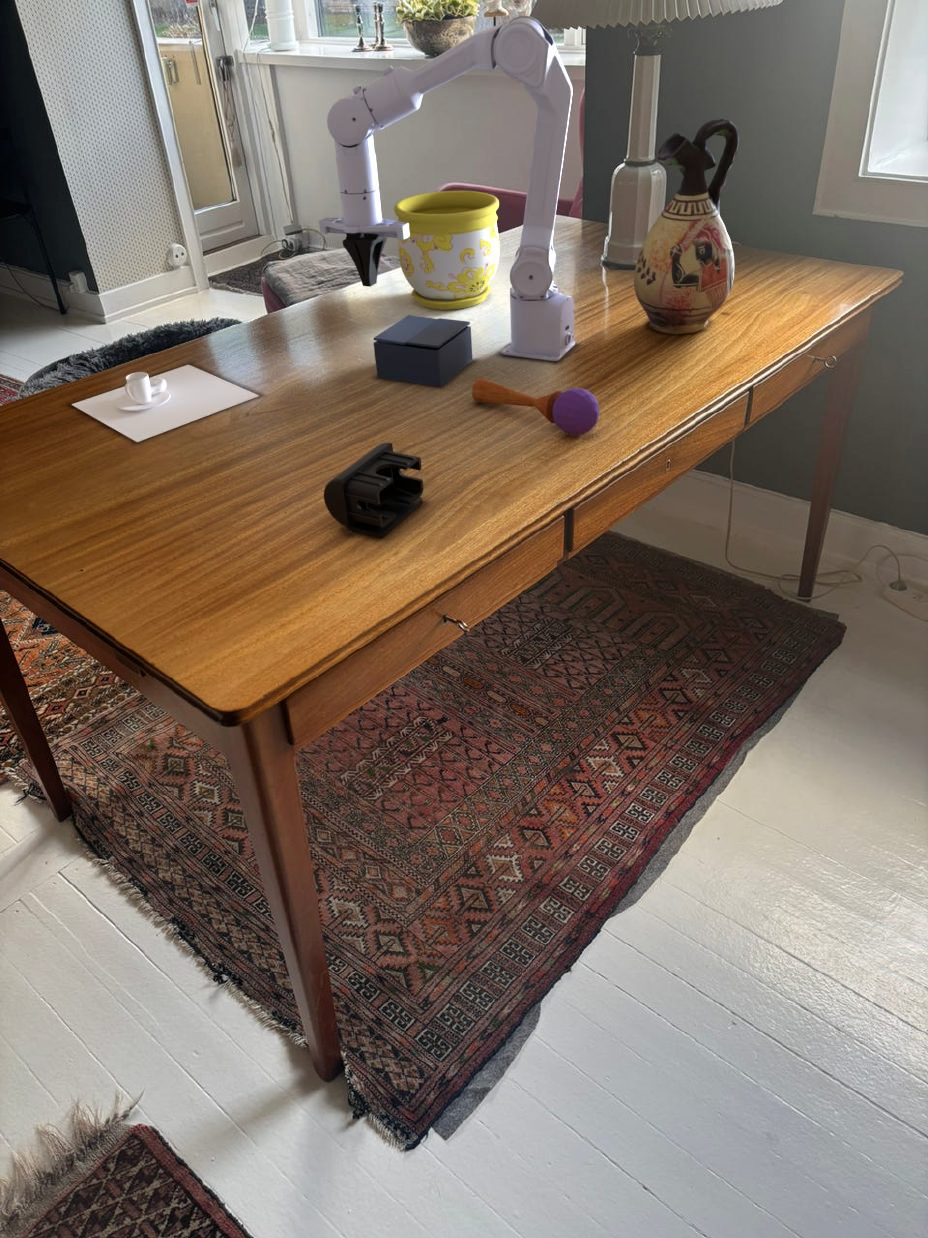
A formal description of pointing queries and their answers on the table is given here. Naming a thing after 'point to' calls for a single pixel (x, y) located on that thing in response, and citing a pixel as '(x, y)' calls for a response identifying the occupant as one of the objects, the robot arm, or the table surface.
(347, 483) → the end cap
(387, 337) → the flap
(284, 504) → the table surface
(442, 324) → the carton
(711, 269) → the ceramic jug
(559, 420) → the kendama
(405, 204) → the flowerpot
